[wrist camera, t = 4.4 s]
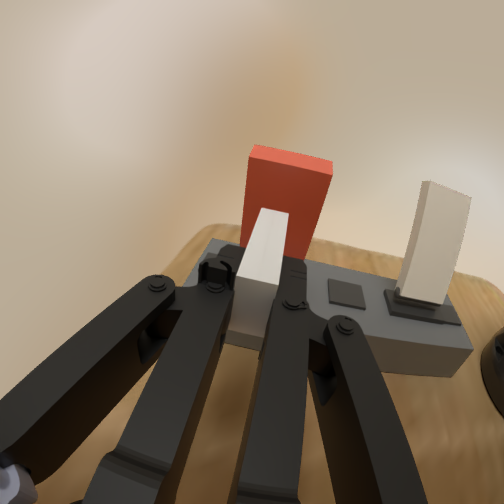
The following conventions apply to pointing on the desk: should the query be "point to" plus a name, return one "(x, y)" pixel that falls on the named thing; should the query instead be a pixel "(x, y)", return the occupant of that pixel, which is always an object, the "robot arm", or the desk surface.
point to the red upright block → (286, 194)
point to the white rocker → (433, 245)
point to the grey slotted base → (375, 319)
